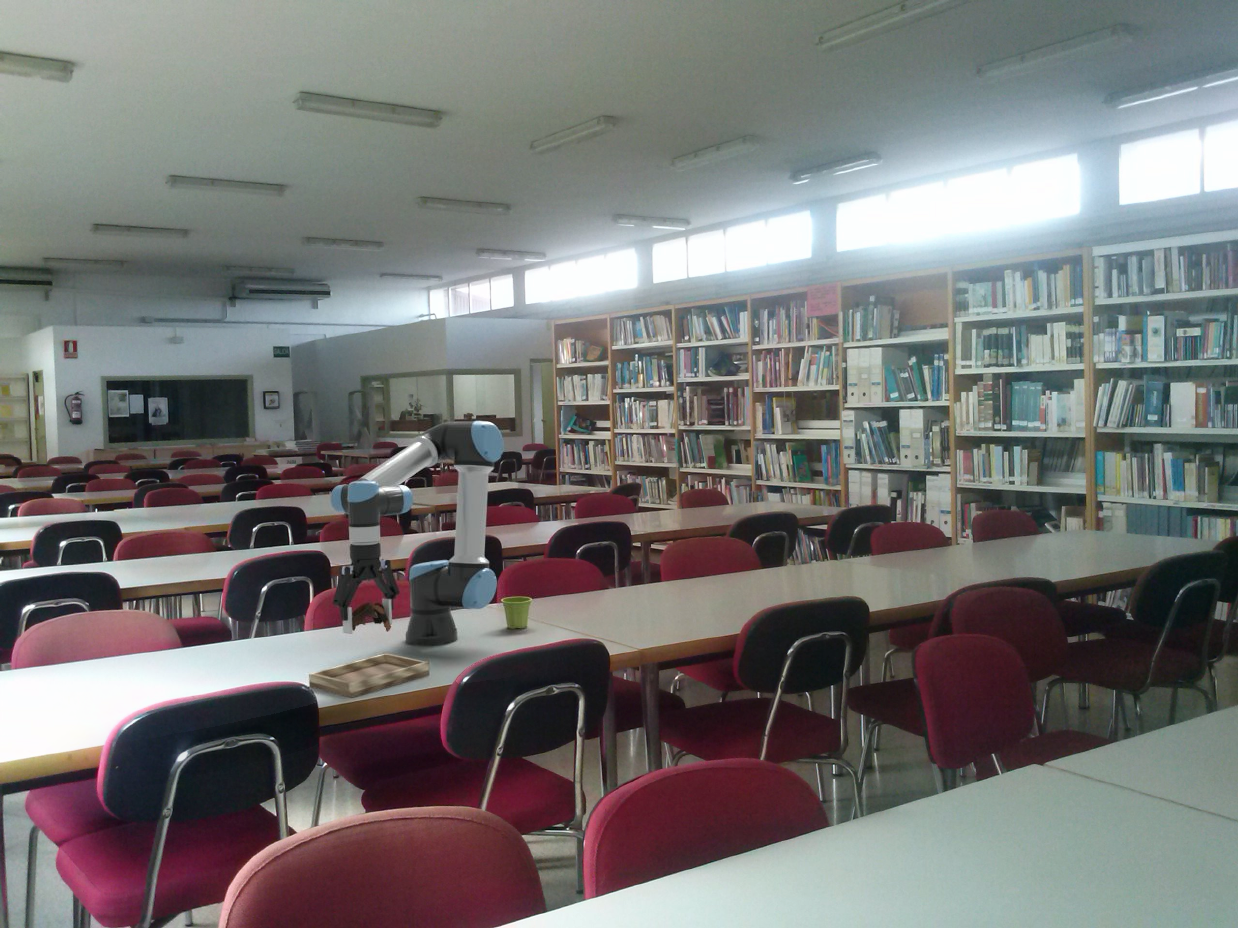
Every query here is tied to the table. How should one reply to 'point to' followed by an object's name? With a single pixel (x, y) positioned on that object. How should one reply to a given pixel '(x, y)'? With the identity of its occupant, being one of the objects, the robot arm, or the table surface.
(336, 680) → the wooden tray
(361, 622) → the dark brown arched piece
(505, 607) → the plant pot
